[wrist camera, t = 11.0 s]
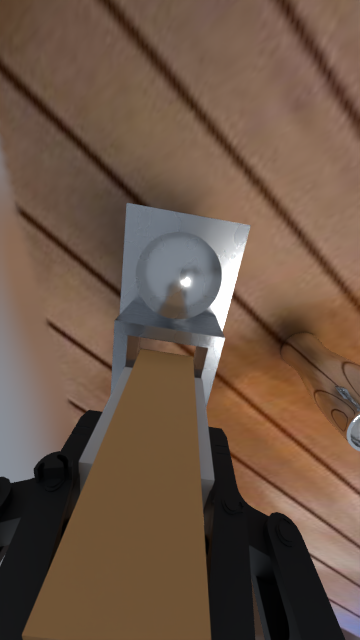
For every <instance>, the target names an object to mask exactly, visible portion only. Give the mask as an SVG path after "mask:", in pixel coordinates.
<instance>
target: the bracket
mask: <svg viewBox="0 0 360 640" xmlns="http://www.w3.org/2000/svg"><path fill="white" fill-rule="evenodd" d="M139 337H143V338H149V339H155V340H162V341H168V342H174V343H180V344H187V345H193V346H198V349H197V354H196V358H195V363H194V378H201V379H202V380H203V388H204V396H205V405H206V406H207V402H208V399H209V395H210V391H211V388H212V384H213V380H214V377H215V373H216V369H217V366H218V362H219V358H220V355H221V351H222V347H223V344H224V340H225V337H224V334H223V332H222V329H221V327H220V325H219V322H218V320H217V317H216V316H215V315H209V314H203V313H200V314H198V315H196V316H194V317H191V318H186V319H171V318H167V317H164V316H162V315H160V314H158V313H156V312H155V311H153V310H152V309H151V308H150V307H148V305H147V304H143V303H137V302H131V303H130V304H129V305H128V306H127V307H126V308H125V309H124V311H123V312H122V313H121V314H120V315H119V316H118V317H117V318H116V320H115V326H114V345H113V363H112V382H111V394H112V392H113V390H114V388H115V386H116V383H117V381H118V379H119V377H120V375H121V373H122V371H123V369H124V367H129V368H133V366H134V364H135V361H136V358H137V348H138V339H139Z"/></svg>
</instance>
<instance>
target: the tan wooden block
mask: <svg viewBox="0 0 360 640" xmlns="http://www.w3.org/2000/svg"><path fill="white" fill-rule="evenodd" d="M22 638H23V640H211V629H210V613H209V597H208V582H207V566H206V551H205V535H204V519H203V504H202V488H201V473H200V457H199V441H198V426H197V410H196V395H195V379H194V363H193V357H190V356H184V355H178V354H171V353H165V352H159V351H152V350H146V349H140V352H139V354H138V356H137V359H136V361H135V364H134V366H133V369H132V371H131V373H130V376H129V378H128V381H127V383H126V385H125V388H124V390H123V393H122V395H121V397H120V400H119V402H118V405H117V407H116V409H115V412H114V414H113V417H112V419H111V422H110V424H109V426H108V429H107V431H106V434H105V436H104V438H103V441H102V443H101V446H100V448H99V450H98V453H97V455H96V458H95V460H94V462H93V465H92V467H91V470H90V472H89V474H88V477H87V479H86V482H85V484H84V487H83V489H82V491H81V494H80V496H79V499H78V501H77V503H76V506H75V508H74V511H73V513H72V515H71V518H70V520H69V523H68V525H67V527H66V530H65V532H64V535H63V537H62V539H61V542H60V544H59V547H58V549H57V552H56V554H55V556H54V559H53V561H52V564H51V566H50V568H49V571H48V573H47V576H46V578H45V580H44V583H43V585H42V588H41V590H40V592H39V595H38V597H37V600H36V602H35V604H34V607H33V609H32V612H31V614H30V617H29V619H28V621H27V624H26V626H25V629H24V631H23V633H22Z"/></svg>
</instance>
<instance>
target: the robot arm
mask: <svg viewBox="0 0 360 640" xmlns="http://www.w3.org/2000/svg"><path fill="white" fill-rule="evenodd" d="M132 369H133V368H129V367H124V369H123V371H122V373H121V375H120V377H119V379H118V381H117V383H116V386H115V388H114V390H113V392H112V394H111V396H110V398H109V400H108V402H107V404H106V406H105V408H104V410H103V412H100V411H93V410H88V411H87V412H86V413H85V414H84V415H83V416H81V418H80V419H79V421H78V423H77V424H76V427H75V428H74V429H73V431H72V433H71V435H70V436H69V438H68V440H67V441H66V443H65V445H64V446H63V448H62V450H61V451H58V452H53V453H51V454H49V455H47V456H45V457H44V458H42V459H41V460H40V461H39V462H38V463H37V465H36V466H35V468H34V476H35V478H32V479H29V480H24V481H19V482H14V483H10V481H9V479H7V478H5V477H0V562H1V560H2V559H3V557H4V555H5V557H4V559H3V561H2V564H1V566H0V640H23V638H22V633H23V631H24V629H25V626H26V624H27V621H28V619H29V617H30V614H31V612H32V609H33V607H34V604H35V602H36V600H37V597H38V595H39V592H40V590H41V588H42V585H43V583H44V580H45V578H46V576H47V573H48V571H49V568H50V566H51V564H52V561H53V559H54V556H55V554H56V552H57V549H58V547H59V544H60V542H61V539H62V537H63V535H64V532H65V530H66V527H67V525H68V523H69V520H70V518H71V515H72V513H73V511H74V508H75V506H76V503H77V501H78V499H79V496H80V494H81V491H82V489H83V487H84V484H85V482H86V479H87V477H88V474H89V472H90V470H91V467H92V465H93V462H94V460H95V458H96V455H97V453H98V450H99V448H100V446H101V443H102V441H103V438H104V436H105V434H106V431H107V429H108V426H109V424H110V422H111V419H112V417H113V414H114V412H115V409H116V407H117V405H118V402H119V400H120V397H121V395H122V393H123V390H124V388H125V385H126V383H127V381H128V378H129V376H130V373H131V371H132ZM194 379H195V395H196V410H197V426H198V441H199V457H200V473H201V488H202V504H203V514H204V535H205V551H206V566H207V582H208V597H209V613H210V629H211V640H255V628H254V613H253V598H252V583H253V588H254V592H255V597H256V601H257V606H258V611H259V615H260V619H261V624H262V629H263V633H264V638H265V640H345V638H344V635H343V633H342V631H341V628H340V626H339V623H338V621H337V619H336V616H335V614H334V611H333V609H332V607H331V604H330V602H329V600H328V597H327V595H326V592H325V590H324V588H323V585H322V583H321V580H320V578H319V576H318V573H317V571H316V569H315V566H314V564H313V561H312V559H311V557H310V554H309V552H308V549H307V547H306V545H305V542H304V540H303V538H302V535H301V533H300V531H299V530H298V528H297V526H296V525H295V524H294V523H293V522H292V520H291V519H290V518H288V517H287V516H285V515H284V514H281V513H278V512H276V513H272V514H271V515H270V516H267V515H265V514H263V513H262V512H260V511H258V510H256V509H254V508H253V507H251V506H250V505H248V504H247V503H246V502H245V501H244V499H243V498H242V496H241V495H240V493H239V491H238V488H237V484H236V479H235V474H234V469H233V465H232V460H231V456H230V450H229V446H228V441H227V437H226V435H225V434H224V432H223V430H222V429H220V428H213V427H208V421H207V413H206V405H205V396H204V388H203V380H202V379H201V378H194ZM251 579H252V583H251Z"/></svg>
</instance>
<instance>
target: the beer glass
mask: <svg viewBox="0 0 360 640" xmlns="http://www.w3.org/2000/svg"><path fill="white" fill-rule="evenodd" d="M281 356H282V358H283V360H284V361H285V362H286V363H287V364H288V365H289V366H291V367H292V368H293V369H295V370H296V371H297V373H298V374H299V376H300V378H301V379H302V381H303V383H304V385H305V387H306V389H307V391H308V393H309V395H310V396H311V398H312V400H313V401H314V403H315V404H316V406H317V407H318V408H319V410H320V411H321V412H322V414H323V415H324V416H325V417H326V418H327V420H328V421H329V422H330V423H331V424H332V425H333V426H334V427H335V429H336V430H337V431H338V432H339V433H340V434H341V435H342V436H343V437H344V438H345V439H346V440H347V441H348V443H349V444H350V445H351V446H352V447H353V448H354V449H356V450H358V451H360V365H359V364H357V363H355V362H353V361H351V360H349V359H347V358H345V357H343V356H341V355H339V354H336V353H334V352H332V351H331V350H329V349H327V348H326V347H325V346H324V345H323V344H322V342H321V341H320V340H319V339H318V338H317V337H316V336H315V335H313V334H311V333H306V332H303V333H297V334H294V335H292V336H291V337H289V338H288V339H287V340H286V341H285V342H284V344H283V346H282V348H281Z"/></svg>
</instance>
